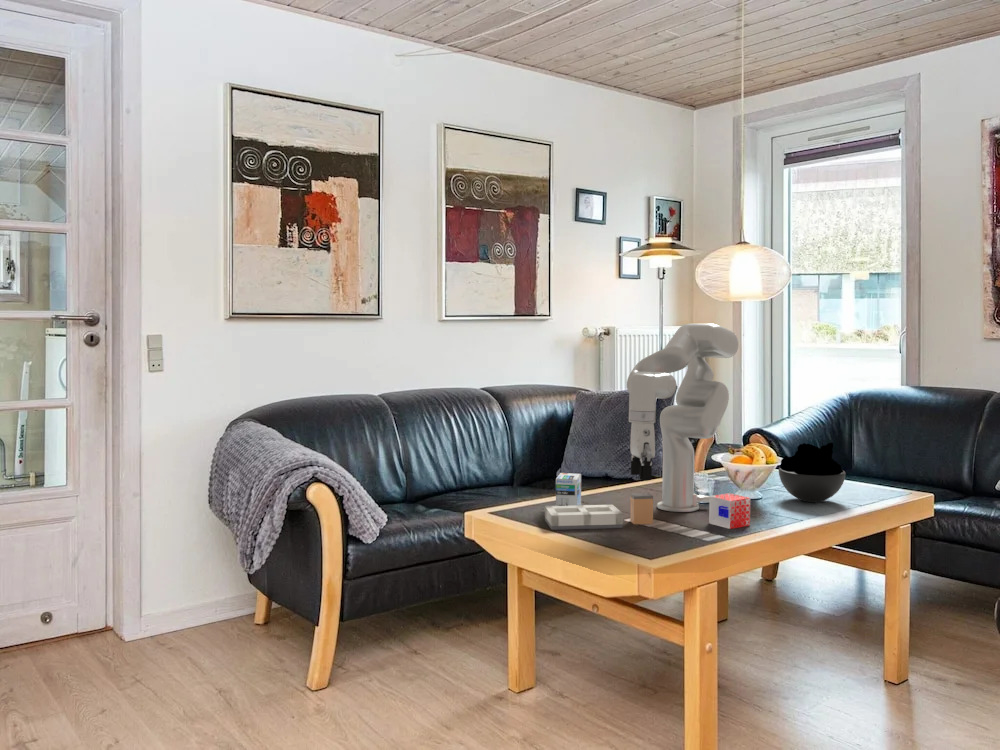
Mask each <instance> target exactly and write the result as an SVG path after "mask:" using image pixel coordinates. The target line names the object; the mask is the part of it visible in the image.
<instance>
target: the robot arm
mask: <svg viewBox="0 0 1000 750" xmlns="http://www.w3.org/2000/svg"><path fill="white" fill-rule="evenodd" d="M738 349H739V339H738V336H737V335H736V333H735V332H734V331H732V330H730V329H728V328H726V327H724V326H722V325H718V324H715V323H686V324H683V325H681V326H680V327H679V328H678V329H677V330H676V332H674V334H673V335H672V337H671V338H670V340H669V341H668V342H667V344H666V345H665V346H664V347H663V349H659V350H658V351H655V352H653V353H651V354H650V355H648V356H645V357H644V358H643V359H641V360H640V361H638V363H637V364H636V365H634V367H633V369H632V370H631V372H629V374H628V377H627V380H626V389H627V392H628V395H629V397H628V422H629V423H631V424H630V425H631V427H630V442H629V443H630V446H629V447H630V448H629V449H630V454H631V456H630V459H631V460H630V474H631V476H632V475H633V476H634V475H635V476H639V480H640V481H652V473H653V471H652V469H653V468H652V467H653V462H652V461H653V459H654V458H655V457H656V437H655V433H656V432H655V424H656V423H657V422H656V419H657V418H656V417H657V416H656V415H657V399H662V400H663V399H664V400H665V399H669V398H671V397H672V396H673V395H674V394H675V393H676V395H675V402H676V404H673V405H668V406H666V407H664V408H663V409H662V410H661V412H660V415H659V427H660V430H661V438H662V482H661V483H662V488H661V489H662V492H661V493H662V496H661V501H659V502H657V504H656V507H657V509H659V510H662V511H667V512H672V513H673V512H674V513H688V512H689V513H690V512H695V511H698V510H699V509H700V505H699V504H700V503H709V495H702V494H699V495H698V494H696V493H695V449H694V446H693V444H692V442H691V441H690V439H689V438H693V439H700V440H701V439H702V440H704V439H711V438H713V437H714V436H715V435H716V433H717V431H718V429H719V427H720V425H721V421H722V420H723V418H724V415H725V412H726V410H727V407H728V404H729V400H730V399H729V394H730V393H729V390H728V387H727V386H726V384H725V383H723V382H721V381H715V380H714V371H713V369H712V367H711V365H710V364H709V363H708V362H707V361H706V359H705V358H710V359H711V358H712V359H713V358H715V359H729V358H732V357H734V356H735V355H736V354H737V352H738ZM686 367H687V368H686ZM685 368H686V371H685V375H684V377H683V378H682V380H681V382H680V385H679V387H678V389H677V385H678V384H677V380H676V379H675V378H676V377H674V376H673V375H672V374H671V373H675V372H679V371H681V370H683V369H685ZM676 391H677V392H676Z"/></svg>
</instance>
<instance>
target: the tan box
mask: <svg viewBox="0 0 1000 750" xmlns="http://www.w3.org/2000/svg"><path fill="white" fill-rule="evenodd" d="M629 516H630V517H629V519H630V521H629V522H630V523H632V525H653V524H654V495H652V494H651V493H650V492H649V493H648V492H646V493H645V492H644V493H642V492H640V493H639V492H638V493H630V515H629Z"/></svg>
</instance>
